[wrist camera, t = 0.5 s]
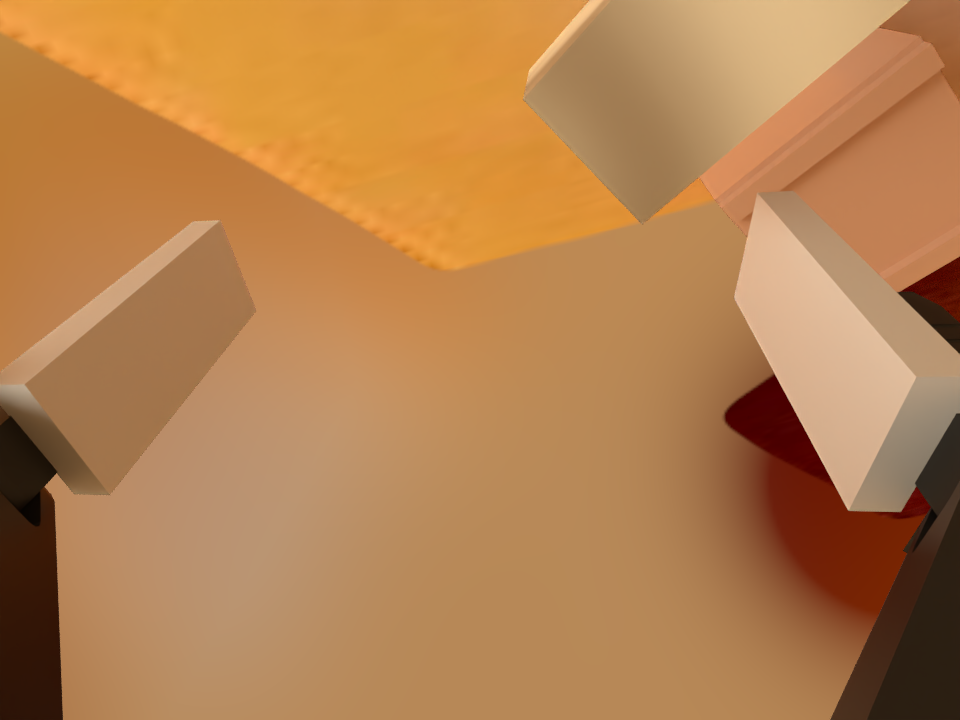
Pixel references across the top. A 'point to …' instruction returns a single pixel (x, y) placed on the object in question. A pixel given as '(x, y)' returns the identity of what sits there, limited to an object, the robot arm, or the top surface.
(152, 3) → the top surface
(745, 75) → the birch batten
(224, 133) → the top surface
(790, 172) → the tall salmon pillar
